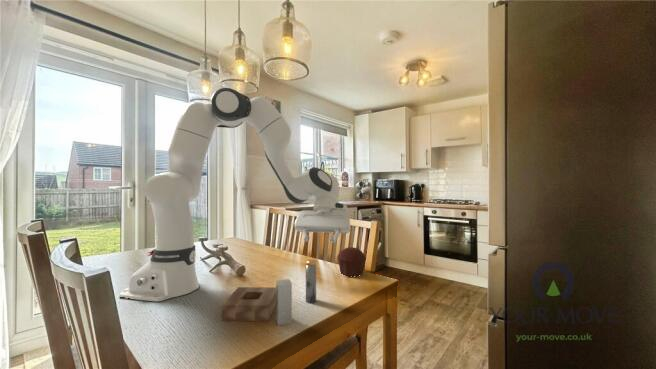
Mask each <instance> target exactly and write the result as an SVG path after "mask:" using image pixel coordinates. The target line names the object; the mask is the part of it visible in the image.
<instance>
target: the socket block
mask: <svg viewBox="0 0 656 369" xmlns="http://www.w3.org/2000/svg"><path fill="white" fill-rule="evenodd" d="M275 309H276V286H275V287H263V286H261V287H258V286H257V287H255V286H254V287H253V286H252V287H248V286H247V287H246V286H245V287H244V286H243V287H241V286H240V287H237V288H236V289H235V290H234V291H233V292H232V293H231V295H229V297H228V298H227V299H226V300H225V301H224V302H223V303H222V304H221V322H222V321H223V322H229V321H230V322H233V321H234V322H269V320H270V319H271V316H272V314H273V312H274V310H275Z"/></svg>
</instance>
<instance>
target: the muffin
mask: <svg viewBox="0 0 656 369" xmlns="http://www.w3.org/2000/svg"><path fill="white" fill-rule="evenodd" d="M336 258H337V261H338V266H339V272H341V273H340V275H341V274H343V275H345V276H352V277H351V278H353V277H354V276H359V275H361V274H362V273H363V274H364V269H365V263H366V260H367V257H366V255H365V254H364V252H363V251H362V250H361V249H359V248H357V247H353V246H352V247H350V246H349V247H345V248H343V249H342V250H341V251H339V253H338V255H337V257H336ZM345 276H344V277H345ZM361 276H362V275H361ZM354 278H355V277H354Z"/></svg>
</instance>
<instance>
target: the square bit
mask: <svg viewBox="0 0 656 369" xmlns="http://www.w3.org/2000/svg"><path fill="white" fill-rule="evenodd" d="M275 287H276V306H275V316H276V317H275V320H276V323H277V326H278V327H279V326H285V325H291V324H292V323H293V322H292V321H293V319H292V318H293V312H292V310H293V309H292V307H293V306H292V305H293V303H292V302H293V301H292V300H293V299H292V298H293V297H292V295H293V290H292V289H293V286H292V281H291V280H290V278H288V279H287V278H285V279H280V280H279V279H278V280H276V281H275Z"/></svg>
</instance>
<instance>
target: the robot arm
mask: <svg viewBox="0 0 656 369" xmlns="http://www.w3.org/2000/svg"><path fill="white" fill-rule="evenodd" d="M243 123H247V124H248V125H250V127H252V128H253V129H254V130H255V132H256V134H257V135H258V136H259V138H260V139H261V141H262V143H263V147H264V154H265V158H266V160H267V162H268V163H269V165H270V167H271V169H272V171H273V172H274V174H275V175H276V177H277V179H278V181H279V182H280V184H281V186H282V188H283V190H284V193H285V196H286V197H287V200H289V201H291V202H293V203H294V204H296V205H297V204H298V205H300V204H303V203H305V202H306V201H307V200H309V198H311V197H315V199H314V200H315V201H314V205H313V208H312V209H302V210H299V211H298V212H297V215H296V219H295V221H294V229H295V231H296V232H300V233H303V241H304V242H310V234H308V233H325V234H326V233H327V234H328V233H330V234H331V233H333V234H334V235H331V237H330V242H331V243H336V241H337V239H338V237H340V235H341V234H349V232H351V220H350V215H349V210H348V206H347V204H345V203H342V202H338V201H339V197H340V196H339V195H340V183H339V180H338V178H337V177H336V176H334V175H332V174H328V173H327V172H326V171H325V170H323V169H321V168H319V167H316V166H315V167H313V166H312V167H310V168H309V169H307V170H305V171H304V172H303V173H301V174H299V175H297V176H296V177H295V176H294V175H293V174H292V172H291V169H290V168H289V166H288V164H287V163H286V162H285V157H284V156H285V155H284V154H285V151H286V148H287V147H288V145H289V143H290V141H291V140H290V139H291V134H292V133H291V128H290V125H289V124H288V122H287V121H286V119H285V118H284V117H283V115H282V114H281V113H280V111H278V109H277V108H276V107H275V106H274V105H273V104H272V103H271V102H270V101H269V100H268V99H267V98H265V97H264V96H256V97H255V96H254V97H253V98H251V99H250V97H249V96H248V95H246V94H243V93H241V92H240V91H238V90H235V89H233V88H230V87H221V88H219V89H217V90H216V91H215V92H213V94H212V96H211V99H210V103H203V102H201V101H200V102H199V101H193V102H189V103H187V105H186V106H185V108H184V109H183V111H182V112H181V115H180V117H179V119H178V122H177V124H176V127H175V130H174V132H173V135H172V139H171V142H170V145H169V147H168V152H167V153H168V157H169V158H168V171H166V172H165V171H164V172H161V173H157V174H154V175H153V176H151V177H150V178H149V179H148V180H147V181H146V182H145V184H144V187H143V190H144V191H143V193H144V196H145V197H146V199H147V201H148V202H149V203H150V207H151V212H152V214H153V218H154V224H155V248H154V249H152V250H151V251H149V252H147V256H146V257H151V258H150V259H149V261H148V262H147V263H145V264H144V265H142V266H141V267H140V268H139V269H137V270H136V271H135V272H134V273H132V275H131V276H130V278H129V282H128V283H129V284H128V287H126V288H125V289H123V290H122V291H121V292H119V296H120V297H125V298H124V299H128V298H130V300H138V301H148V302H162V301H165V300H168V299H172V298H176V297H180V296H184V295H187V294H189V293H193V292H194V291H195V290H197V289H198V288H199V287H200V284H199V280H198V275H197V272H196V270H197V269H196V264H195V262H196V255H197V254H196V245H195V222H194V220H193V217H192V213H191V208H190V203H192V202H194V201H195V200H196V199H197V197H198V196H199V194H200V192H201V182H202V176H203V169H204V168H203V167H204V162H205V160H206V156H207V153H208V150H209V147H210V144H211V140H212V139H213V134H214V131H215V130H216V128H227V129H228V128H229V129H233V128H238V127H239V126H241V125H242V124H243ZM120 297H119V298H120Z"/></svg>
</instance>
